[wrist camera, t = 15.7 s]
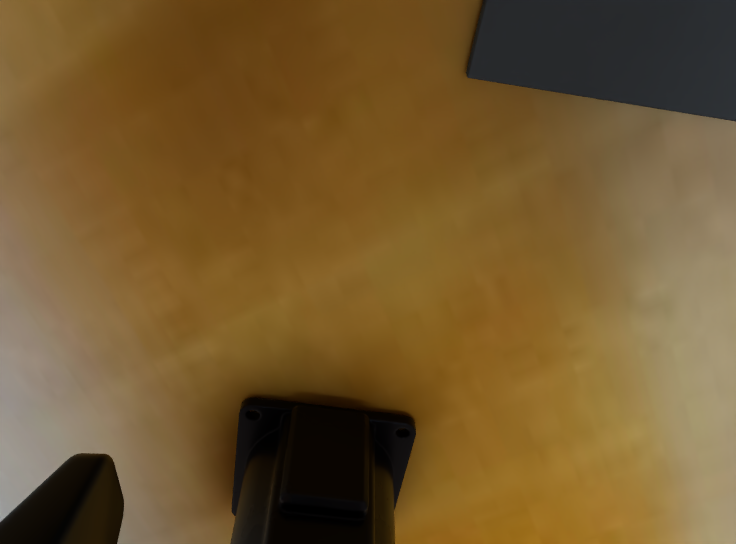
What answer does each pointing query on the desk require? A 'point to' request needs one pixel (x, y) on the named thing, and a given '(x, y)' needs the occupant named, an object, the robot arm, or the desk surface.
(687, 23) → the dark grey flat plate
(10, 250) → the desk surface
